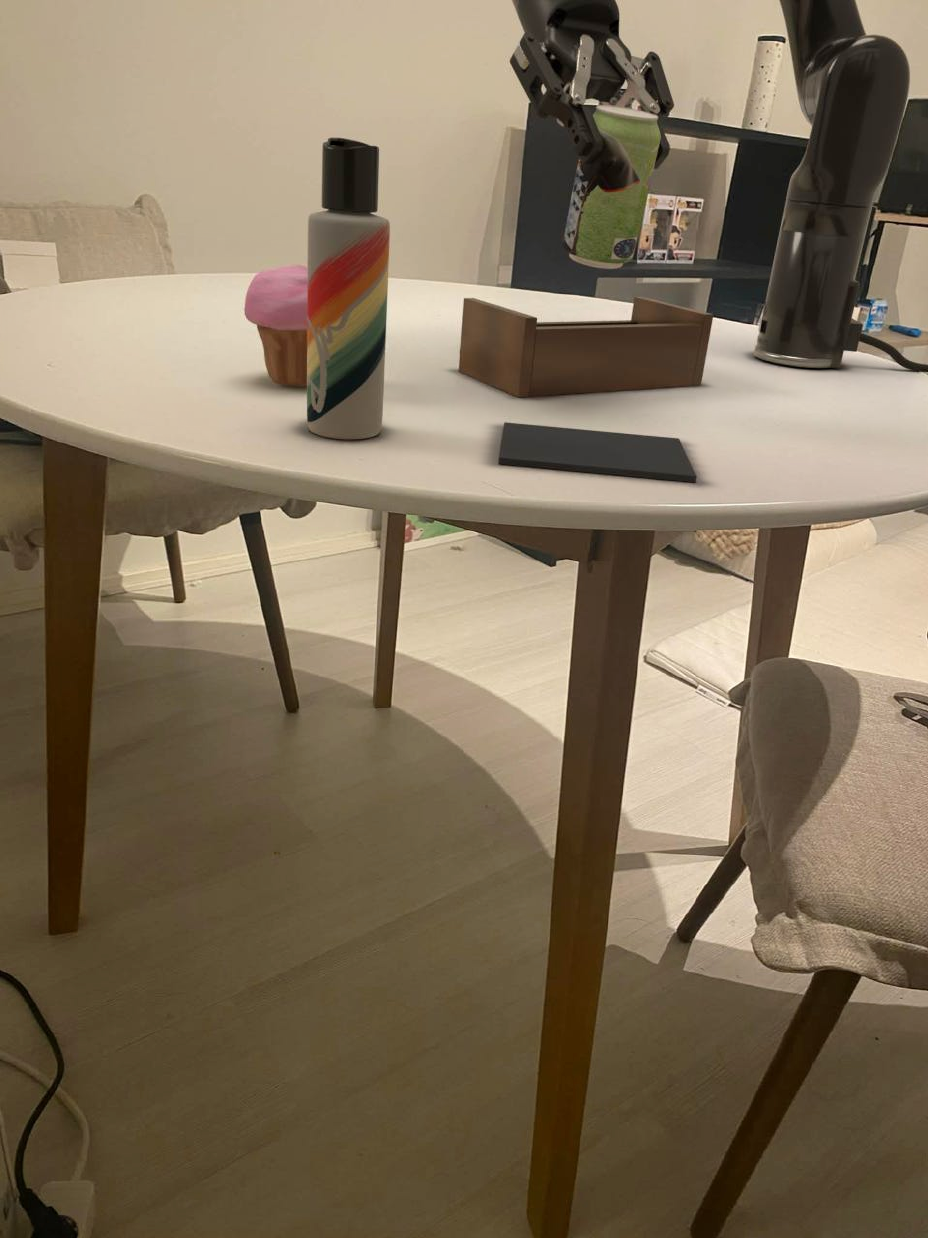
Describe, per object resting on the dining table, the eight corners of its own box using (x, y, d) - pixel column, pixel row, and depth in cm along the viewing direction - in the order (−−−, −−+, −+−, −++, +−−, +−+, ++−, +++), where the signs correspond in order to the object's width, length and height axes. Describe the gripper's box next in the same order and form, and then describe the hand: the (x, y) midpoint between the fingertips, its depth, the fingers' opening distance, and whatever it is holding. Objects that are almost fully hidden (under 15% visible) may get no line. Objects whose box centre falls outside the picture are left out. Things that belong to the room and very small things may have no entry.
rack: (458, 371, 97) (463, 297, 94) (633, 362, 108) (642, 296, 105) (518, 397, 89) (526, 317, 86) (701, 385, 100) (713, 314, 97)
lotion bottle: (291, 429, 74) (290, 133, 65) (338, 416, 78) (343, 137, 69) (351, 445, 71) (359, 139, 62) (396, 430, 76) (409, 143, 67)
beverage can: (600, 260, 87) (621, 107, 81) (657, 273, 81) (683, 110, 76) (543, 259, 83) (561, 100, 78) (599, 272, 78) (622, 102, 73)
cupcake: (349, 395, 84) (352, 274, 80) (246, 393, 83) (243, 268, 78) (339, 372, 92) (342, 260, 88) (245, 370, 90) (243, 255, 86)
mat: (678, 444, 78) (679, 438, 78) (695, 482, 69) (696, 475, 69) (503, 428, 79) (504, 421, 78) (498, 464, 70) (499, 457, 69)
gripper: (506, -65, 74) (578, 114, 71) (651, -35, 81) (724, 130, 78) (465, 19, 81) (529, 188, 77) (603, 41, 88) (668, 196, 84)
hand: (627, 158), depth 77 cm, fingers closed on beverage can, 6 cm apart
